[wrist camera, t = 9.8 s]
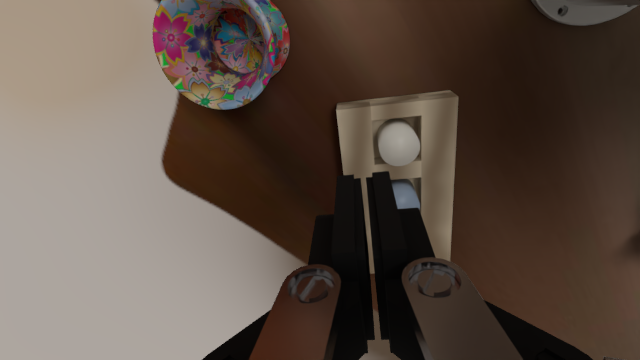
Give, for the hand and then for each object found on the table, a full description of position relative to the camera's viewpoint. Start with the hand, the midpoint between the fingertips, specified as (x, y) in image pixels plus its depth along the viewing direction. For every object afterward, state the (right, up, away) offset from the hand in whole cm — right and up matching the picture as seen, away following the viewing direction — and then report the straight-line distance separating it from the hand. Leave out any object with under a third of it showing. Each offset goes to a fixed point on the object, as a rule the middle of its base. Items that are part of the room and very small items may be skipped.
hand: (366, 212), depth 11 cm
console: (+8, 0, +29) cm, 30 cm away
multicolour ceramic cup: (-9, +17, +23) cm, 30 cm away
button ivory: (+7, +6, +25) cm, 27 cm away
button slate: (+8, 0, +28) cm, 29 cm away
